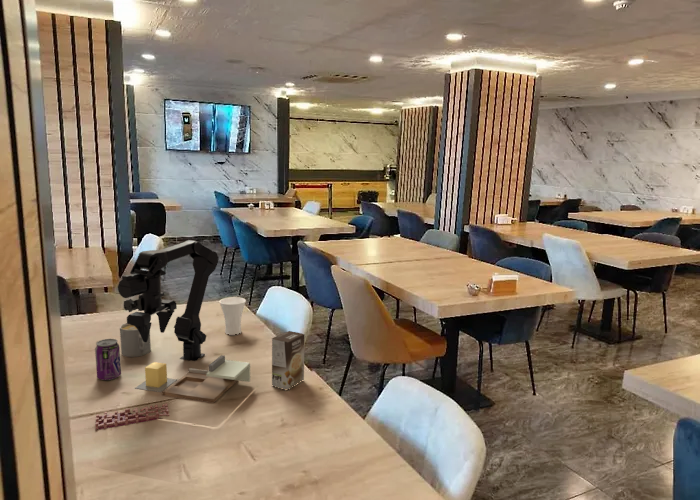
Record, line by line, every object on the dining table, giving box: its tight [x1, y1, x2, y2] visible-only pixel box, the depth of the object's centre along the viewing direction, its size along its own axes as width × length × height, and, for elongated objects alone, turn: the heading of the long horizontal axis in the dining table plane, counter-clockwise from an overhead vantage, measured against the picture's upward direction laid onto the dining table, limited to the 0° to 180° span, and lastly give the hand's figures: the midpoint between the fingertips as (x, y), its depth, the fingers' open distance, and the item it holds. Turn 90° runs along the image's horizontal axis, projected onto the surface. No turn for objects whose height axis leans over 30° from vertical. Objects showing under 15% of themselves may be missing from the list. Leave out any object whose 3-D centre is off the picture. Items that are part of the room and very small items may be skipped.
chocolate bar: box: [95, 402, 170, 431], centre depth 143 cm, size 7×19×2 cm, turn 114°
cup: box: [218, 296, 247, 336], centre depth 210 cm, size 10×10×14 cm
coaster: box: [134, 377, 178, 393], centre depth 163 cm, size 9×9×1 cm
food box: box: [271, 330, 305, 390], centre depth 165 cm, size 9×6×16 cm
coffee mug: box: [119, 322, 152, 358], centre depth 187 cm, size 13×10×10 cm
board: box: [161, 367, 239, 403], centre depth 161 cm, size 16×17×2 cm
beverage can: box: [94, 338, 122, 381], centre depth 167 cm, size 7×7×12 cm
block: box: [144, 361, 168, 388], centre depth 162 cm, size 4×4×6 cm
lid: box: [206, 354, 251, 383], centre depth 159 cm, size 11×9×8 cm
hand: (154, 337), depth 168 cm, fingers open, 9 cm apart
